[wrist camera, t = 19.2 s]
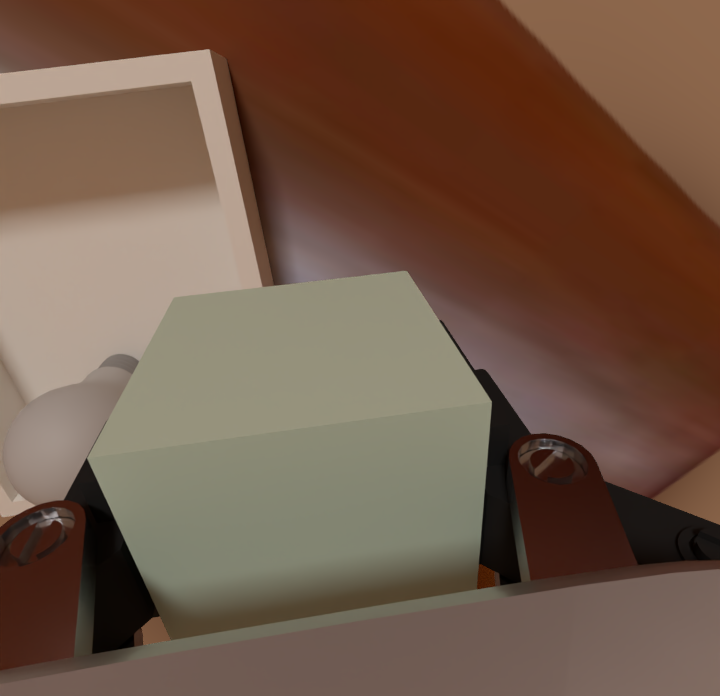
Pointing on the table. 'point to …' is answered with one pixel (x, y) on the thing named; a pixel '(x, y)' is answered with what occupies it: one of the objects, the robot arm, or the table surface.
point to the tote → (114, 215)
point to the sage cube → (297, 455)
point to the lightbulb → (62, 431)
